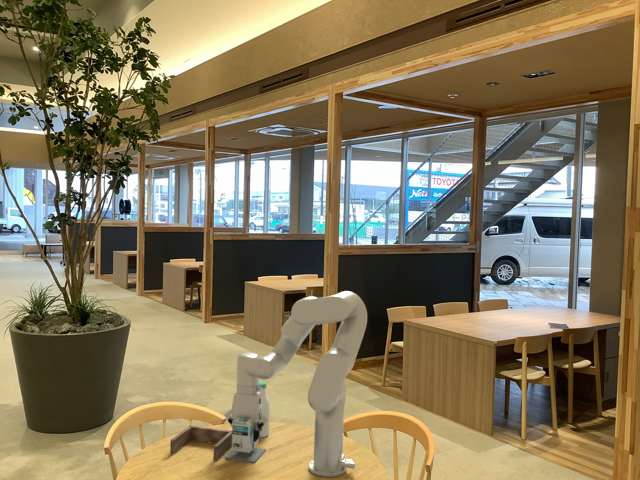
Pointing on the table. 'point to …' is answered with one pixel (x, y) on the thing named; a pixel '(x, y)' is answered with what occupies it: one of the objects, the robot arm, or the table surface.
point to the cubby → (203, 439)
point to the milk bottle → (264, 410)
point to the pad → (246, 455)
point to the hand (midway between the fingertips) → (245, 438)
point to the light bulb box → (243, 435)
